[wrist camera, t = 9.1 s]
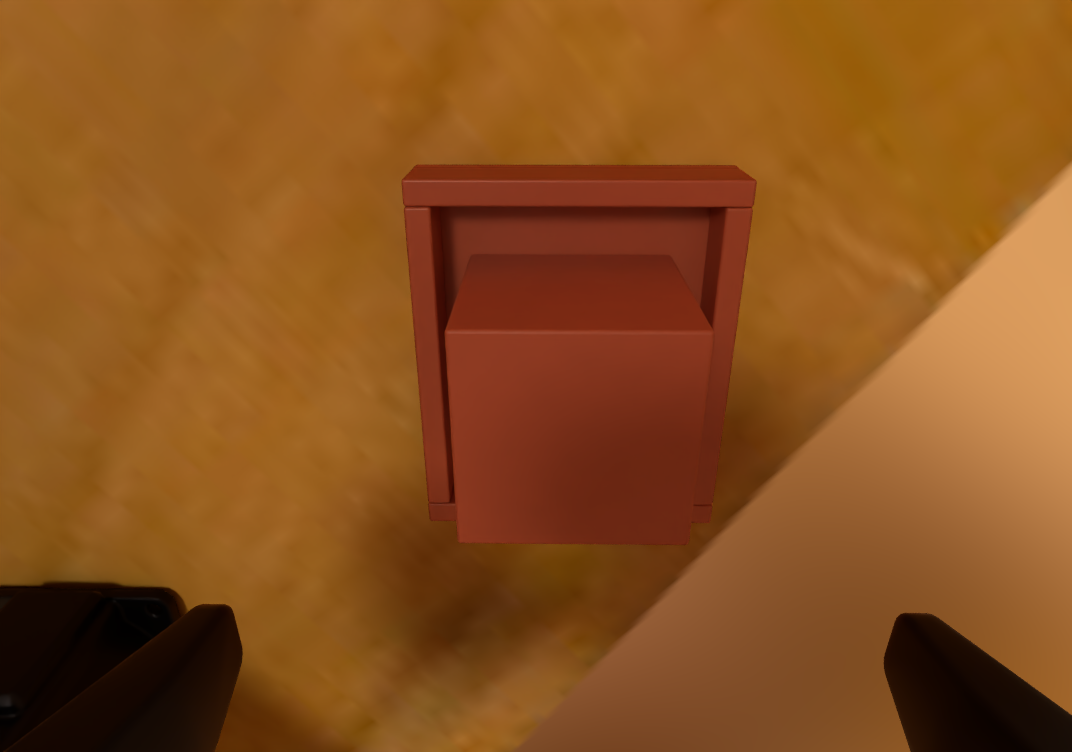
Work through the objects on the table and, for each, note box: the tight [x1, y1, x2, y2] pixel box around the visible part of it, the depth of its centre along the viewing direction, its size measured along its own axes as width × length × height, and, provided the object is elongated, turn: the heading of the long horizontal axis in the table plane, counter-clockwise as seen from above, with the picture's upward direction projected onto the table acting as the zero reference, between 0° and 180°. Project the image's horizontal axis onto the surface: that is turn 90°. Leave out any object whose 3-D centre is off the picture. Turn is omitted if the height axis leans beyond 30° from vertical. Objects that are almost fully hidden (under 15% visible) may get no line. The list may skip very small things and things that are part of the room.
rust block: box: [445, 254, 714, 545], centre depth 16 cm, size 5×5×5 cm
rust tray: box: [402, 165, 757, 523], centre depth 18 cm, size 9×8×2 cm
